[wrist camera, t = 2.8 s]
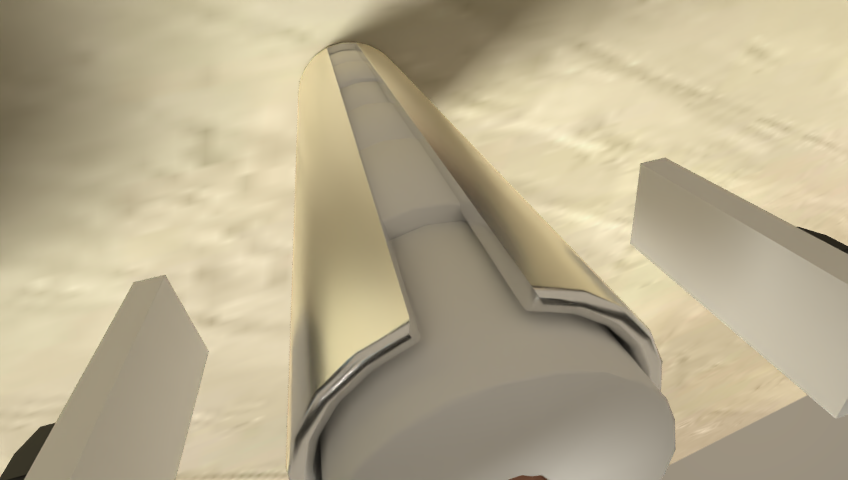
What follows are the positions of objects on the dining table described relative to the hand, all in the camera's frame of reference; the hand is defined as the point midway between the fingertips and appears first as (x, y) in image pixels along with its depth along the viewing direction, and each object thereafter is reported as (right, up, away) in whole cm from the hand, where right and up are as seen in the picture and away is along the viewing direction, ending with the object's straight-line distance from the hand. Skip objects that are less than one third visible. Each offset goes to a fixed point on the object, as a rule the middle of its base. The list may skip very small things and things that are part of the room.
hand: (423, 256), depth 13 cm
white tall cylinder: (-4, +9, +15) cm, 18 cm away
